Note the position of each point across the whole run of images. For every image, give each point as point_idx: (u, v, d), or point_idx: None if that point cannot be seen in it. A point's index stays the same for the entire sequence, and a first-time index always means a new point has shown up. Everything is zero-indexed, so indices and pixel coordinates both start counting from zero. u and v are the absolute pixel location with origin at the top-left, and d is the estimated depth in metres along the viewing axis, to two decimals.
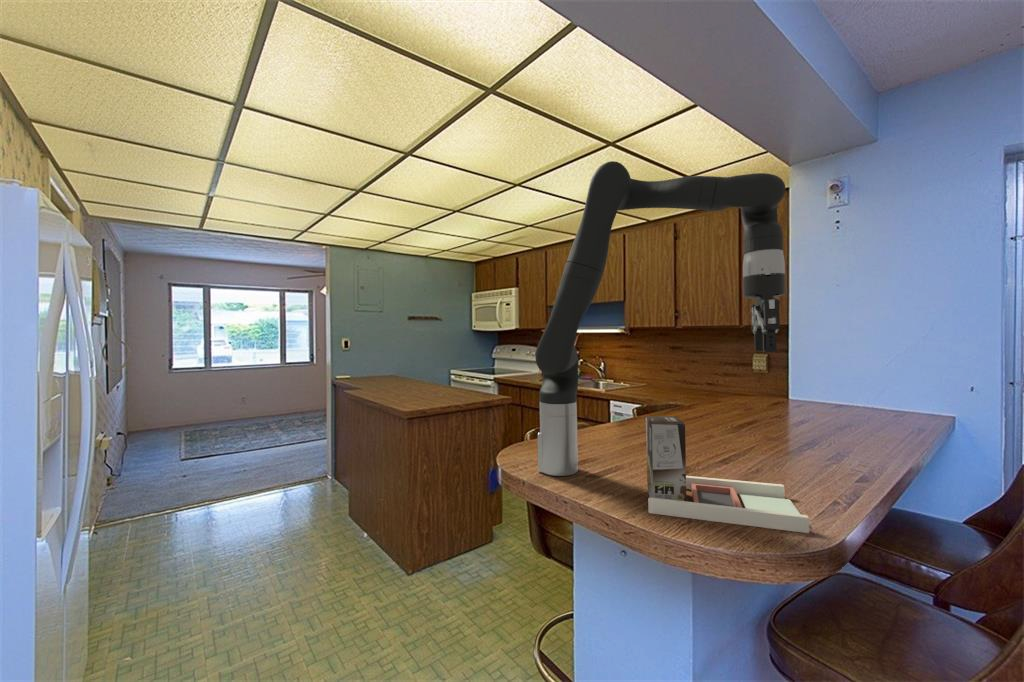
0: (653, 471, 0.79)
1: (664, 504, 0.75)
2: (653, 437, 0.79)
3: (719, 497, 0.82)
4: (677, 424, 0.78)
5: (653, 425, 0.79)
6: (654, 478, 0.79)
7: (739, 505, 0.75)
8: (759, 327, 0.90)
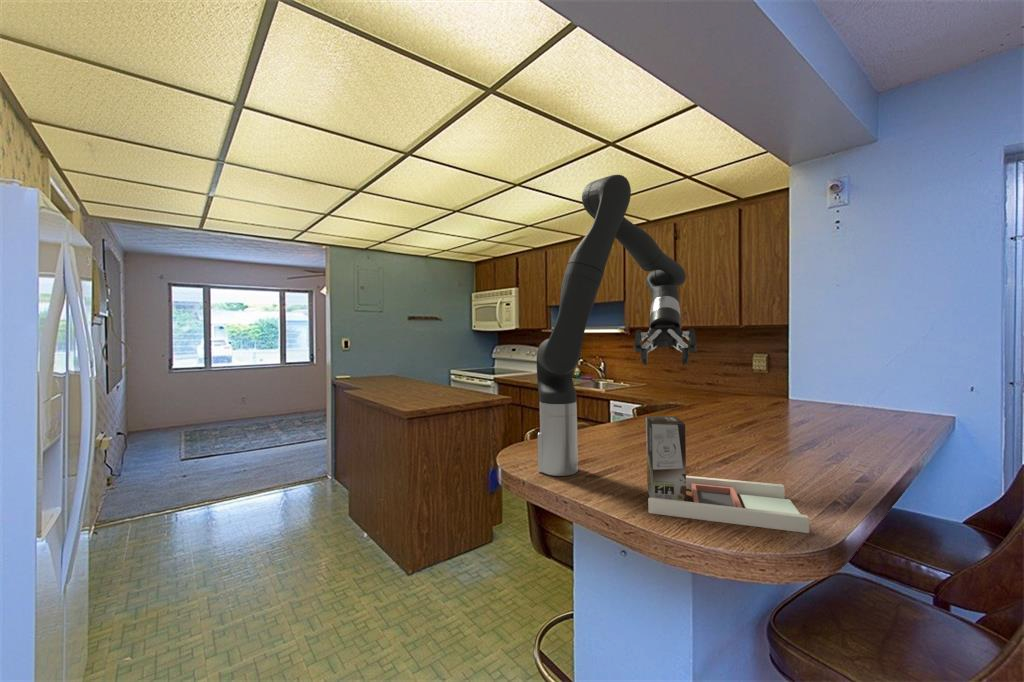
0: (653, 471, 0.79)
1: (664, 504, 0.75)
2: (653, 437, 0.79)
3: (719, 497, 0.82)
4: (677, 424, 0.78)
5: (653, 425, 0.79)
6: (654, 478, 0.79)
7: (739, 505, 0.75)
8: None
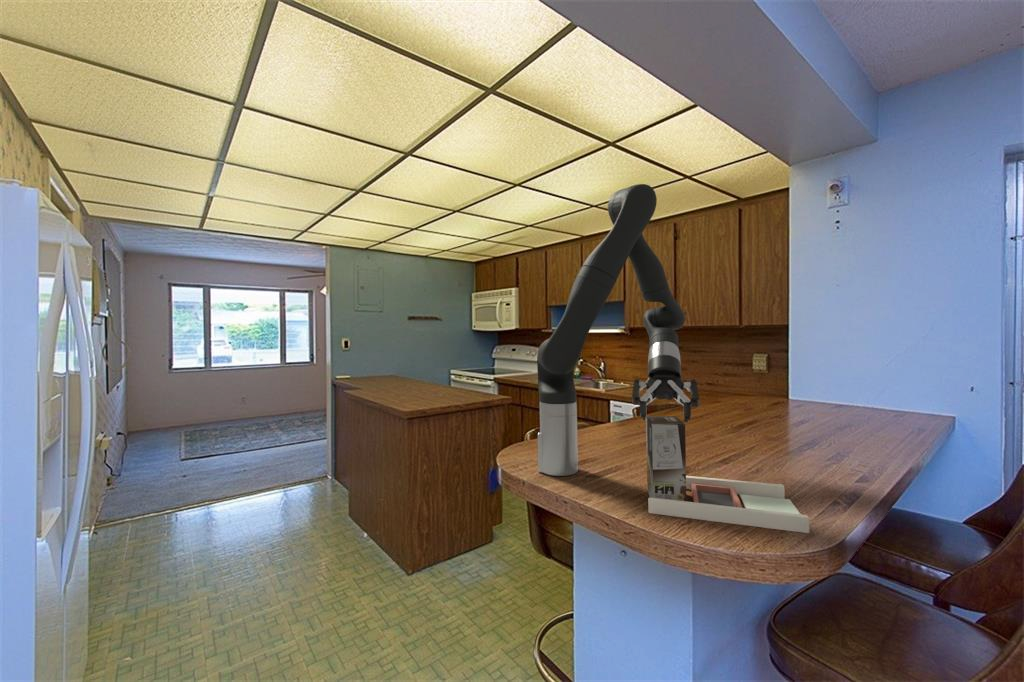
0: (653, 471, 0.79)
1: (664, 504, 0.75)
2: (653, 437, 0.79)
3: (719, 497, 0.82)
4: (677, 424, 0.78)
5: (653, 425, 0.79)
6: (654, 478, 0.79)
7: (739, 505, 0.75)
8: None
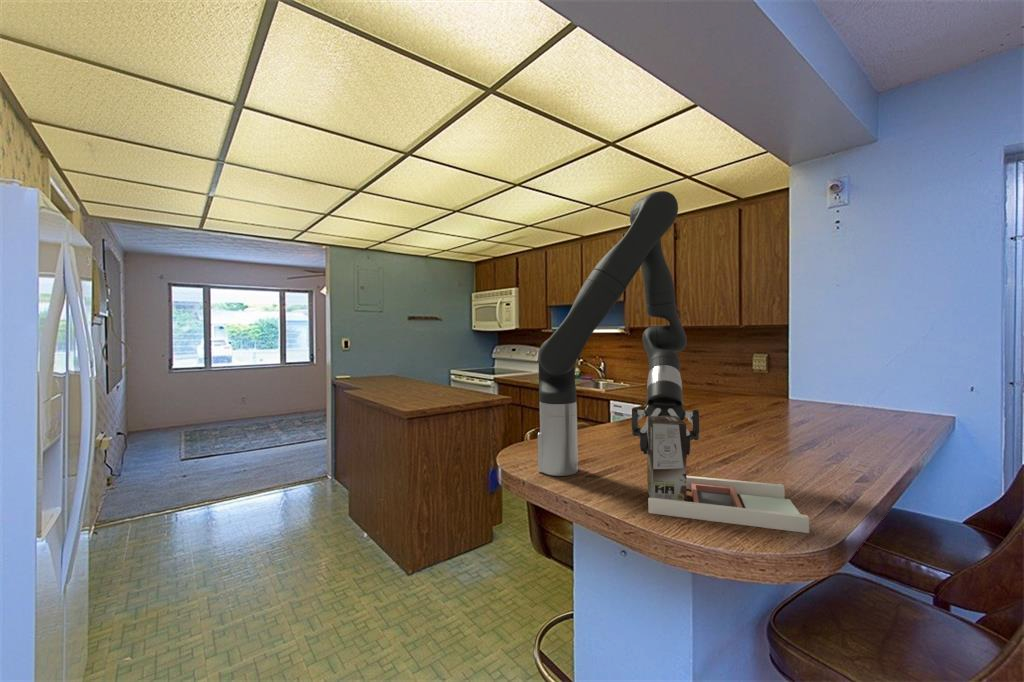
0: (653, 471, 0.79)
1: (664, 504, 0.75)
2: (654, 437, 0.79)
3: (719, 497, 0.82)
4: (678, 424, 0.78)
5: (654, 425, 0.79)
6: (654, 478, 0.79)
7: (739, 505, 0.75)
8: None
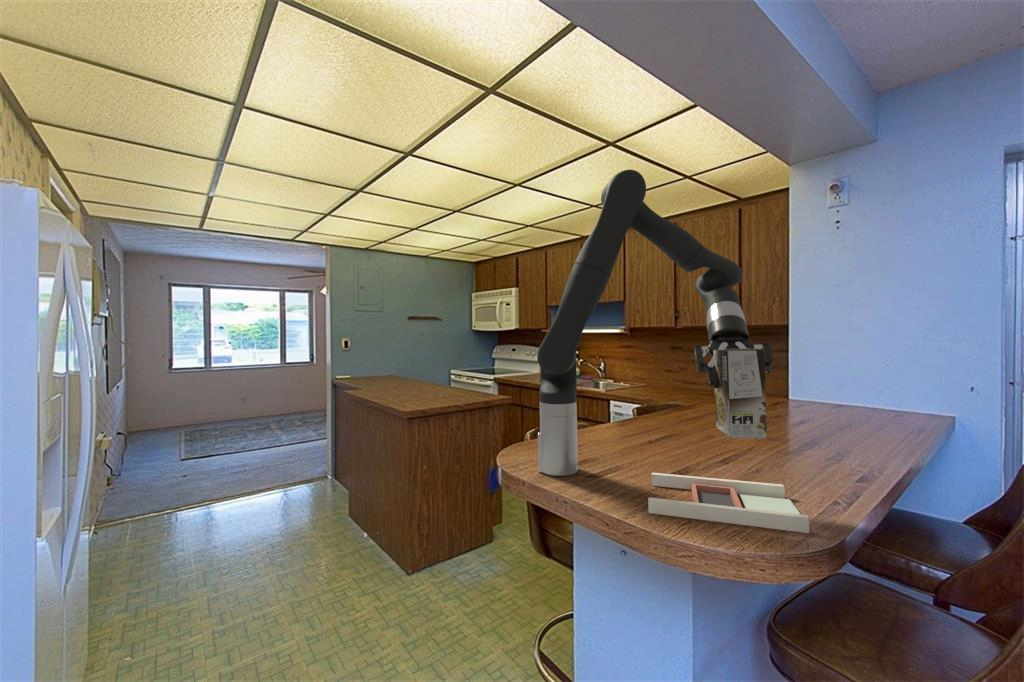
0: (730, 400, 0.74)
1: (664, 504, 0.75)
2: (729, 364, 0.74)
3: (719, 497, 0.82)
4: (755, 350, 0.73)
5: (729, 352, 0.74)
6: (731, 408, 0.74)
7: (739, 505, 0.75)
8: None
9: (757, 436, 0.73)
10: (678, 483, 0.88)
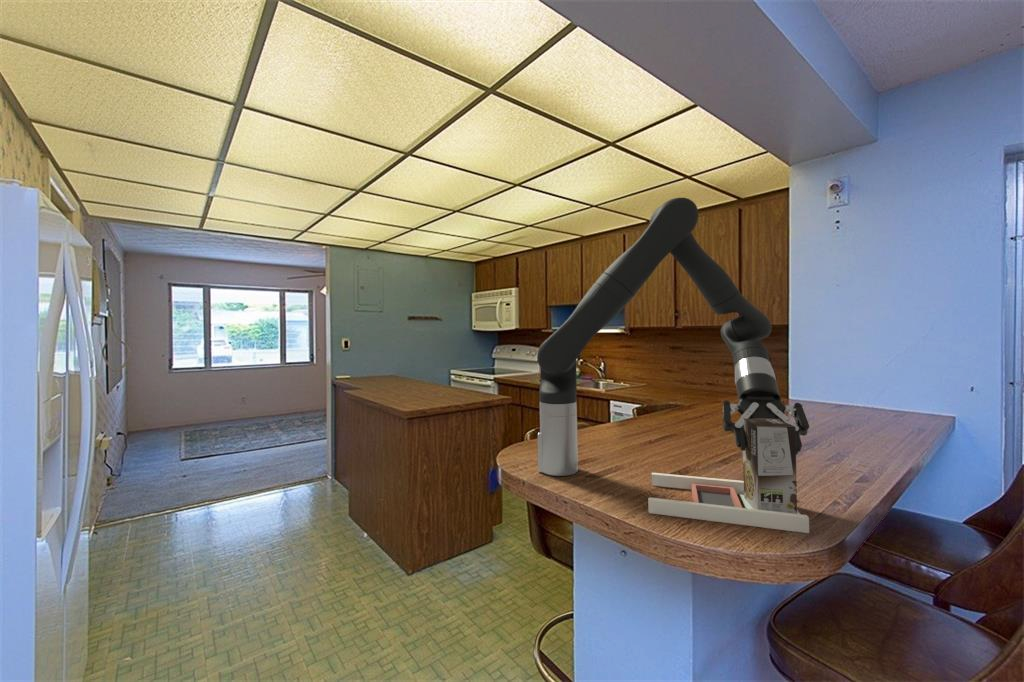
0: (759, 477, 0.73)
1: (664, 504, 0.75)
2: (759, 440, 0.73)
3: (719, 497, 0.82)
4: (786, 427, 0.72)
5: (759, 427, 0.73)
6: (760, 485, 0.73)
7: (739, 505, 0.75)
8: None
9: None
10: (678, 483, 0.88)
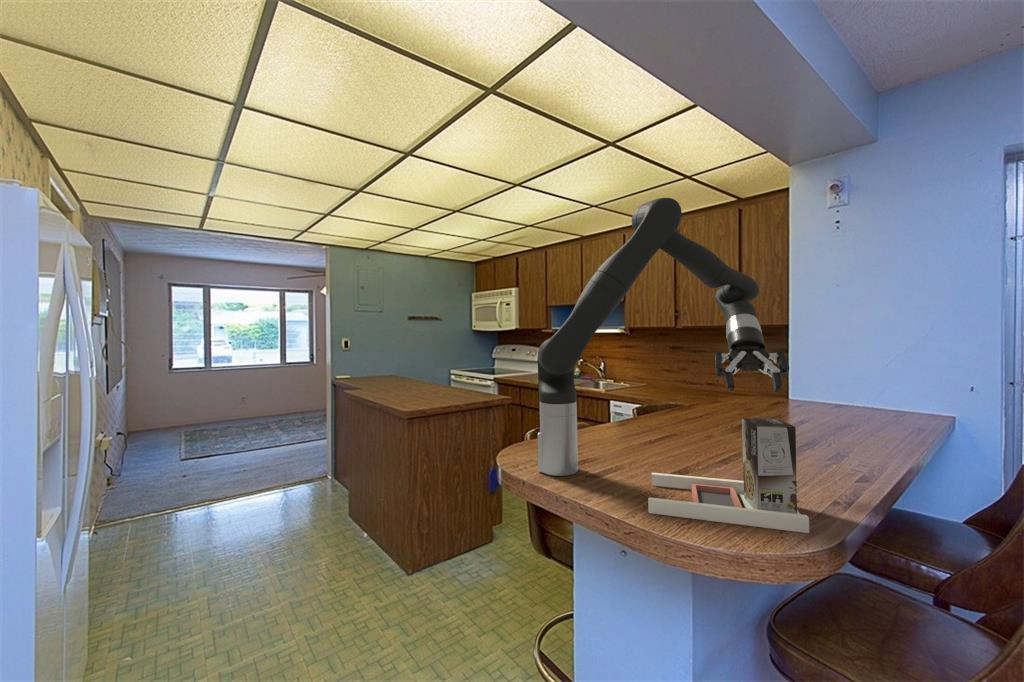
0: (759, 477, 0.73)
1: (664, 504, 0.75)
2: (759, 440, 0.73)
3: (719, 497, 0.82)
4: (786, 427, 0.72)
5: (759, 427, 0.73)
6: (760, 485, 0.73)
7: (739, 505, 0.75)
8: None
9: None
10: (678, 483, 0.88)
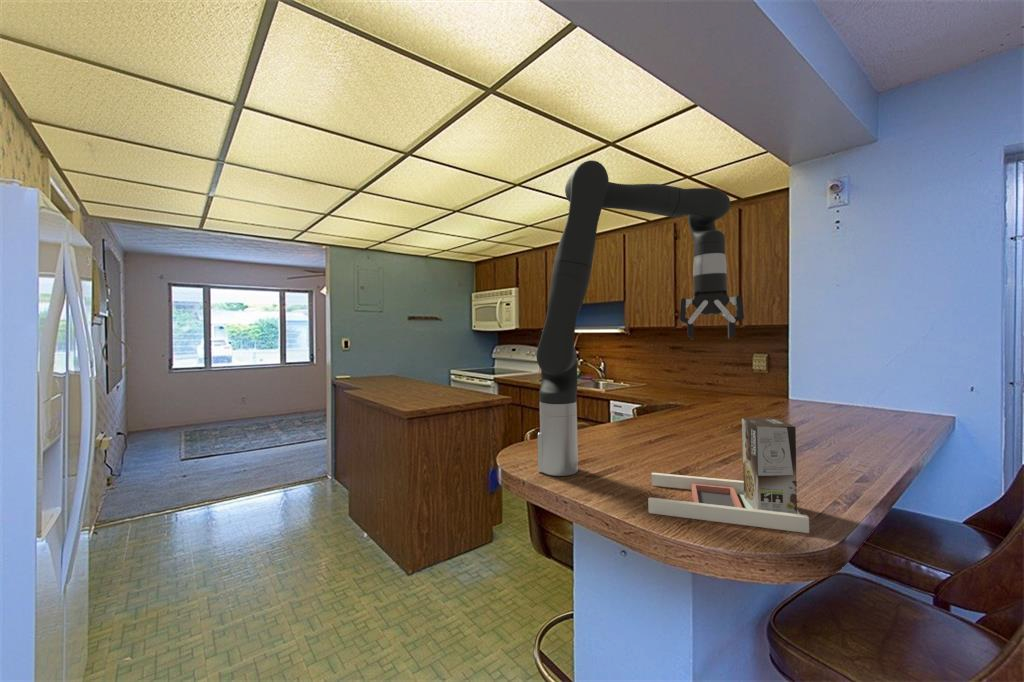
0: (759, 477, 0.73)
1: (664, 504, 0.75)
2: (759, 440, 0.73)
3: (719, 497, 0.82)
4: (786, 427, 0.72)
5: (759, 427, 0.73)
6: (760, 485, 0.73)
7: (739, 505, 0.75)
8: (688, 319, 1.04)
9: None
10: (678, 483, 0.88)
